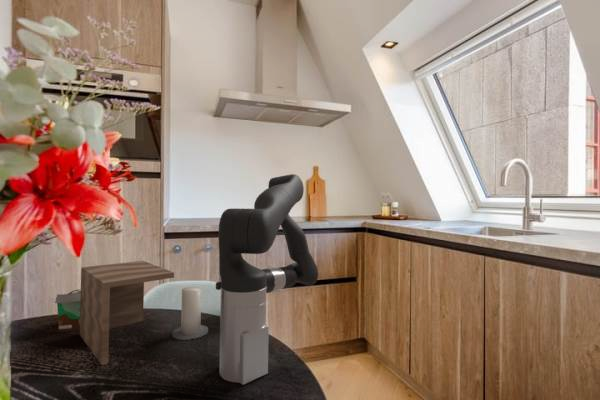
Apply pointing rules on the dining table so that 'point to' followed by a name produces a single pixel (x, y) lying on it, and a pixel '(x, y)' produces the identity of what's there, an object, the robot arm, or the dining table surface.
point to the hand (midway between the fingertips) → (224, 289)
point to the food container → (69, 310)
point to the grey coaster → (180, 336)
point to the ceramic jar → (191, 310)
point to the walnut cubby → (113, 300)
